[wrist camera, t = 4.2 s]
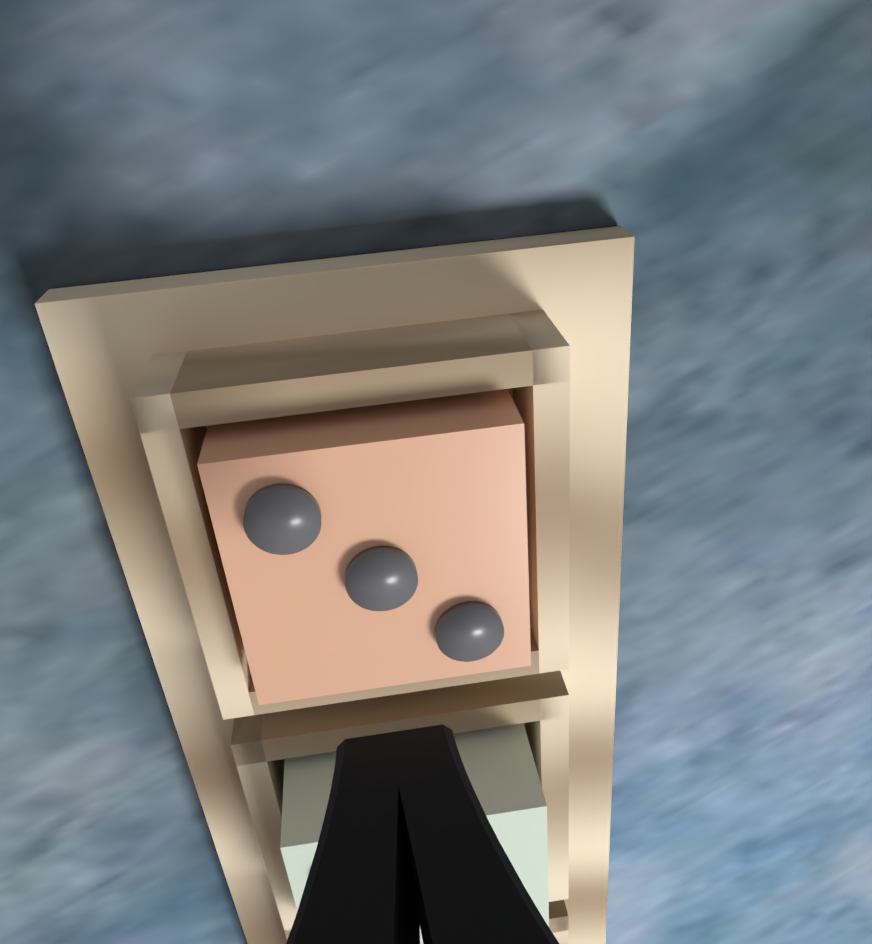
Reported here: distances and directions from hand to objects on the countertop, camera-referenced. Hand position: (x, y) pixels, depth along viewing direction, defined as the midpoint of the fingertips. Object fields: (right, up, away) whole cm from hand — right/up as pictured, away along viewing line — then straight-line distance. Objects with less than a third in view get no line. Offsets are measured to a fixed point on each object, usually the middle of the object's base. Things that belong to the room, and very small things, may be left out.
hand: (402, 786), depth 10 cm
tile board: (0, -3, +10) cm, 10 cm away
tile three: (-1, +3, +5) cm, 7 cm away
